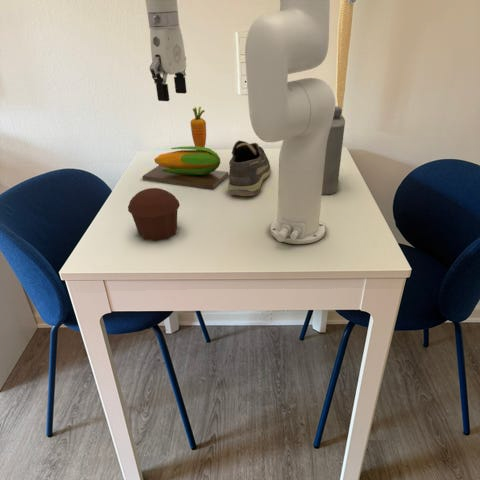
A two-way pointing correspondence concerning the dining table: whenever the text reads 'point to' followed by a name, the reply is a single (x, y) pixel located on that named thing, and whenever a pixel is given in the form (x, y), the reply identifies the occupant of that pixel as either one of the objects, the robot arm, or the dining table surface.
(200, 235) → the dining table surface
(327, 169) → the flask
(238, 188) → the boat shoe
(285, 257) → the dining table surface
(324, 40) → the robot arm
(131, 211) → the muffin
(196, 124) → the carrot
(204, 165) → the corn
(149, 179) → the board
